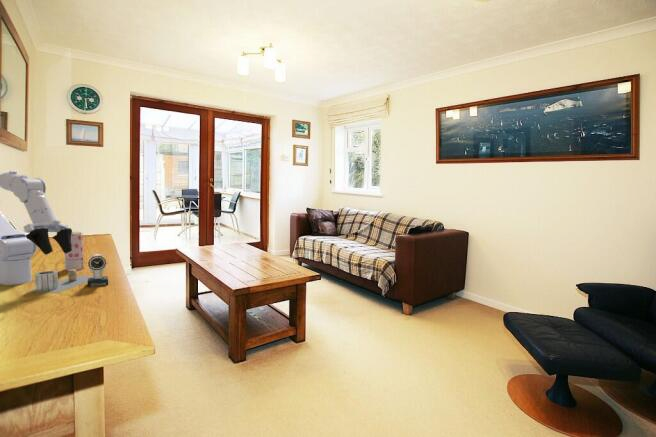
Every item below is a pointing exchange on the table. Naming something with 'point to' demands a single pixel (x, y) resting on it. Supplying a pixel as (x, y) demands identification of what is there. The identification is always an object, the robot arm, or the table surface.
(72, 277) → the post
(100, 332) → the table surface
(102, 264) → the watch
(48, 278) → the gray hollow cylinder
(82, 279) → the board
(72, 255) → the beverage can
